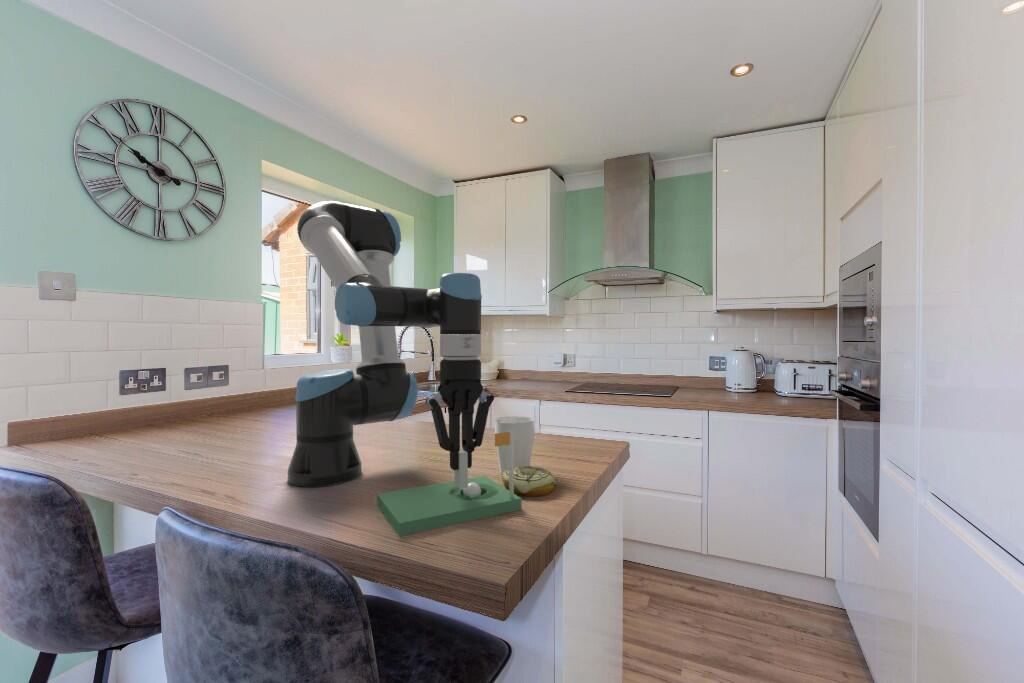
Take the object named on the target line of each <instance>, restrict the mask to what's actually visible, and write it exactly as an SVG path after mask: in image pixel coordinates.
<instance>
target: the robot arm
mask: <svg viewBox="0 0 1024 683" xmlns="http://www.w3.org/2000/svg"><path fill="white" fill-rule="evenodd" d="M297 222H298V223H297V227H296V228H297V230H296V231H297V236H298V239H299V241H300V242H301V244H302V246H303V247H304V248H305V250H306V251H307V252H309V253H310V254H312V255H314V256H315V258H316V260H317V261H318V262H319V264H320V266H321V268H322V269H323V270H324V272H325V274H326V275H327V276H328V278H329V280H331V283H332V284H333V286H334V287H335V289H336V291H335V294H334V296H335V297H334V310H335V314H336V318H337V320H338V321H339V322H340V323H341V324H342V325H345V326H357V327H358V332H359V342H360V353H361V354H360V355H361V361H360V363H359V364H358V365H357V366H356V367H355V370H356V371H355V372H356V374H354V372H353V370H352V369H351V368H339V369H328V370H321V371H316V372H312V373H307V374H305V375H303V376H301V377H300V378H299V379H298V380H297V383H296V390H295V397H294V398H295V399H294V400H295V402H296V403H295V404H296V406H295V408H296V409H295V412H296V414H295V415H296V417H295V418H296V419H295V421H296V424H295V427H296V429H295V431H296V445H295V447H294V451H293V453H292V457H291V460H290V463H289V464H288V468H287V482H288V483H289V484H291V485H292V486H293V485H294V486H296V487H306V488H307V487H310V488H311V487H312V488H313V487H314V488H315V487H325V486H334V485H338V484H342V483H347V482H349V481H352V480H354V479H356V478H358V477H359V476H361V475H362V474H363V473H362V461H361V458H360V455H359V453H358V452H359V451H358V449H357V446H356V443H355V441H354V440H355V439H354V426H360V425H367V424H376V423H382V422H383V423H384V422H394V421H395V420H401V419H402V420H403V419H405V418H407V417H409V416H410V415H411V414H412V413H413V411H414V409H415V407H416V404H417V400H418V391H419V388H418V387H419V385H418V382H417V378H416V375H415V374H414V373H413V372H411V371H410V370H407V368H406V362H405V361H404V360H402V359H401V358H400V357H399V353H398V352H399V351H398V342H397V333H396V327H406V328H407V327H409V328H411V327H413V328H415V327H417V328H418V327H419V328H426V329H431V328H437V327H439V356H440V357H442V359H441V361H439V371H440V372H439V381H440V382H439V386H438V388H437V392H436V393H435V394H433V395H432V396H431V397H430V396H429V397H426V398H425V403H426V405H427V406H428V407H429V410H431V415H432V419H433V424H434V427H435V431H436V432H435V433H436V435H437V440H438V445H439V447H440V448H441V449H443V450H444V451H447V452H449V468H450V469H451V470H453V471H454V474H453V475H454V478H453V481H454V485H455V486H457V487H458V488H459V489H464V488H468V479H469V478H468V474H469V473H468V472H469V471H468V469H470V468H472V465H473V464H472V463H473V462H472V461H473V452H474V451H475V449H476V448H477V447H478V448H479V447H481V446H482V444H483V439H484V435H485V431H486V425H487V421H488V416H489V411H490V408H491V406H492V403H493V402H494V399H495V395H493V394H491V393H488V392H486V391H485V390H484V387H483V384H482V382H481V381H482V380H481V379H482V360H481V359H478V358H479V357H481V356H482V300H483V299H482V298H483V296H482V289H481V279H480V277H479V276H478V275H477V274H475V273H471V272H469V273H468V272H449V273H443V274H442V275H441V277H440V279H439V284H438V285H439V286H438V288H420V287H419V288H418V287H408V286H407V287H406V286H392V284H391V274H390V265H391V264H392V263H393V262H394V261H395V257H396V256H397V255H398V254H399V251H400V249H401V242H402V233H401V229H400V225H399V221H398V220H397V219H396V217H395V216H394V215H393V214H391V213H390V212H388V211H383V210H382V209H379V208H376V207H375V208H370V207H365V206H359V205H355V204H349V203H343V202H340V201H333V200H329V201H326V200H325V201H319V202H317V203H315V204H312V205H310V206H309V207H308V208H307V209H306V210H304V211H303V213H302V214H301V215H300V216H299V219H298V221H297ZM442 400H443V402H444V403H445V405H446V407H447V413H448V429H447V425H446V422H445V417H444V414H443V413H444V412H443V409H442V407H441V406H442ZM477 402H478V404H477V409H476V412H475V404H476V403H477ZM475 413H476V414H475ZM474 414H475V419H474ZM461 447H462V448H461Z"/></svg>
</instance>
